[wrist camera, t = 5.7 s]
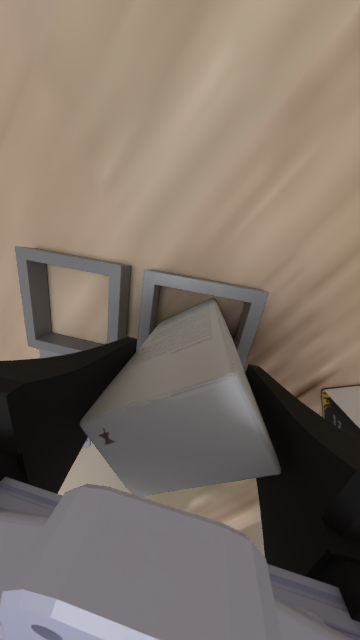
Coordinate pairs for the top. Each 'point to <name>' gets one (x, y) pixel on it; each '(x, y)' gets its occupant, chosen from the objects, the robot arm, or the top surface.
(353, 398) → the medicine bottle
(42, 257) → the gray open square frames
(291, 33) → the top surface
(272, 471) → the skincare box
